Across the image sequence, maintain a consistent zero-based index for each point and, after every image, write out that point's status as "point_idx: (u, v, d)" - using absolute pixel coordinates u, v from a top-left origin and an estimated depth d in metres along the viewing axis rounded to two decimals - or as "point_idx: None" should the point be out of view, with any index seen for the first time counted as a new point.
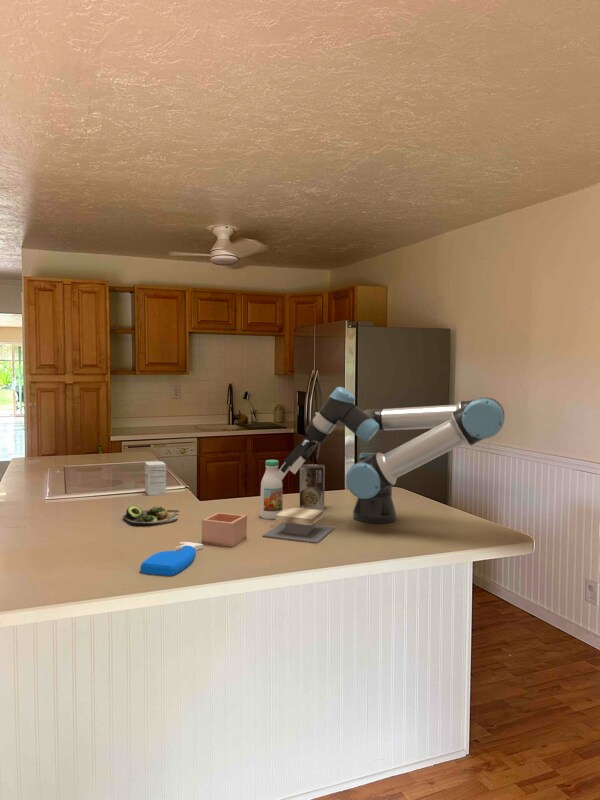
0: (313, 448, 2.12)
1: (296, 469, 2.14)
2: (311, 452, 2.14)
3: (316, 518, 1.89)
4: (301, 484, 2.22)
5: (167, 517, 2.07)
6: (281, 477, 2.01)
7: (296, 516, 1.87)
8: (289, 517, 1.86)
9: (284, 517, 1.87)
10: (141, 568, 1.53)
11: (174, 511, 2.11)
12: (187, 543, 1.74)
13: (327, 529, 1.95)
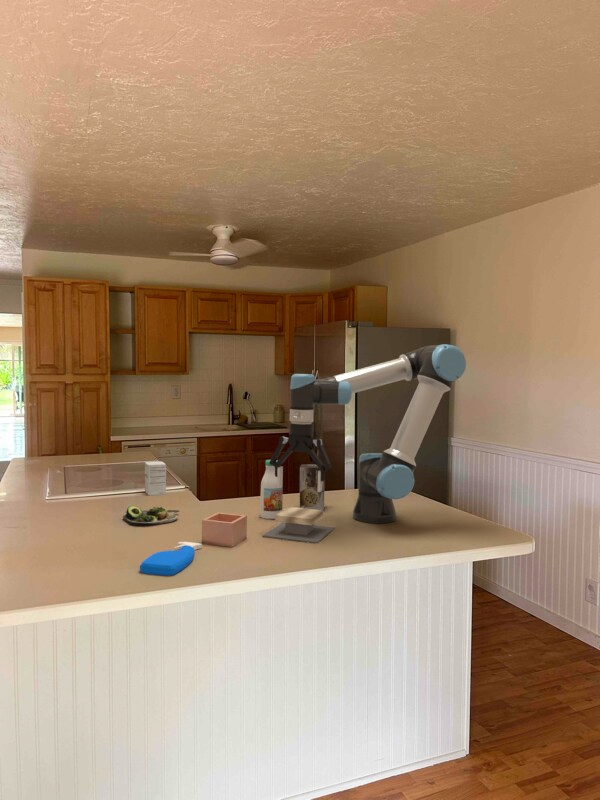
0: (281, 450, 1.94)
1: (281, 481, 1.94)
2: None
3: (316, 518, 1.89)
4: (301, 484, 2.22)
5: (167, 517, 2.07)
6: None
7: (296, 516, 1.87)
8: (289, 517, 1.86)
9: (284, 517, 1.87)
10: (140, 568, 1.53)
11: (174, 511, 2.11)
12: (186, 543, 1.74)
13: (327, 529, 1.95)
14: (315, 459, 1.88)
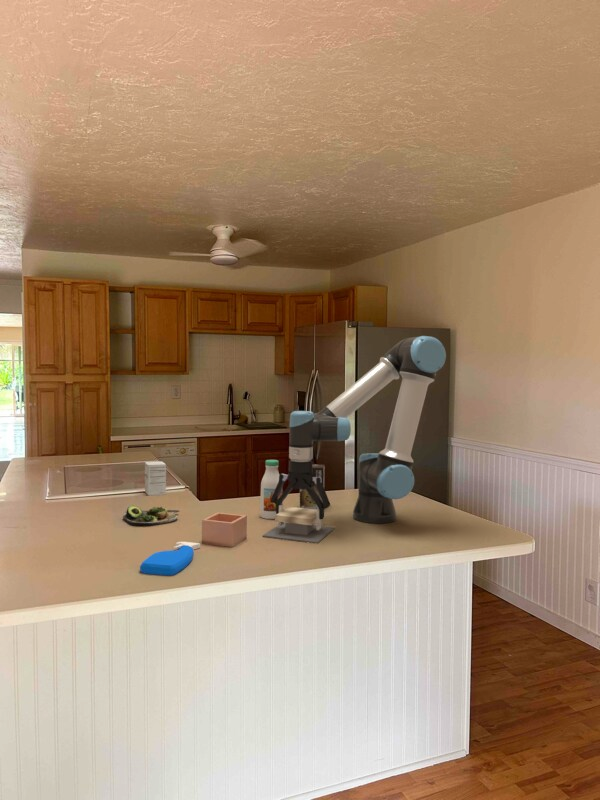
0: None
1: None
2: None
3: None
4: None
5: (167, 517, 2.07)
6: (320, 524, 1.90)
7: (296, 516, 1.87)
8: (289, 517, 1.86)
9: (284, 517, 1.87)
10: (141, 568, 1.53)
11: (174, 511, 2.11)
12: (184, 543, 1.74)
13: (327, 529, 1.95)
14: (314, 497, 1.88)
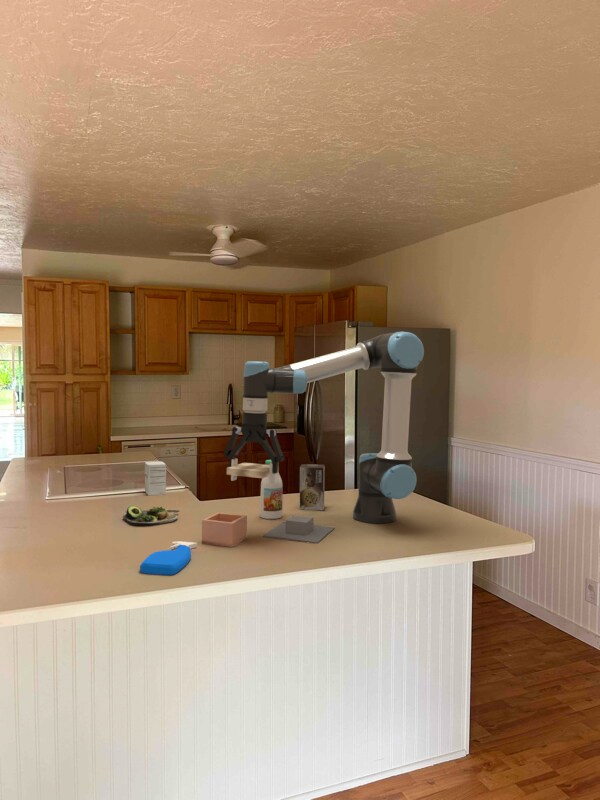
0: (235, 441, 1.87)
1: None
2: None
3: None
4: (301, 484, 2.22)
5: (167, 517, 2.07)
6: (274, 479, 1.83)
7: (248, 469, 1.80)
8: (240, 470, 1.79)
9: (235, 470, 1.80)
10: (141, 568, 1.53)
11: (174, 511, 2.11)
12: (180, 542, 1.74)
13: (327, 529, 1.95)
14: (267, 450, 1.81)
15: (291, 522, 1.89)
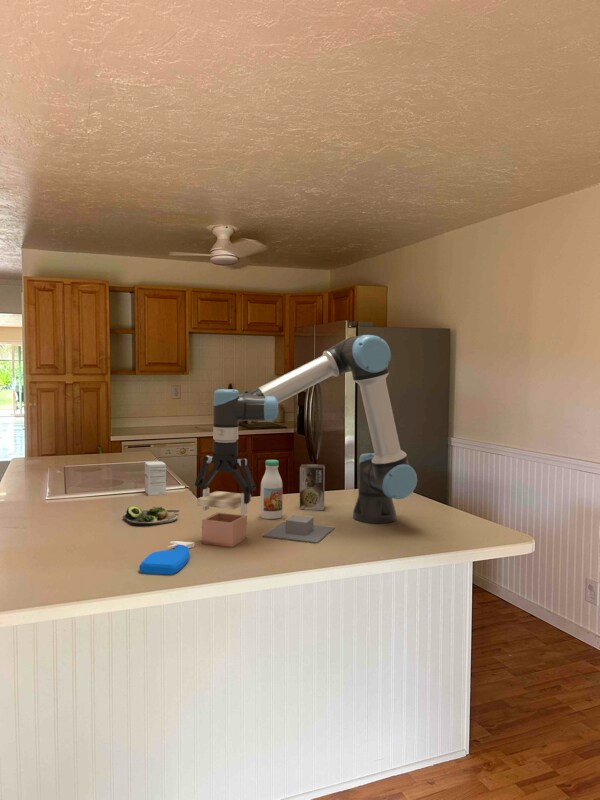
0: None
1: None
2: None
3: None
4: (301, 484, 2.22)
5: (167, 517, 2.07)
6: (246, 509, 1.80)
7: (219, 500, 1.76)
8: (211, 501, 1.76)
9: (206, 501, 1.77)
10: (140, 568, 1.53)
11: (174, 511, 2.11)
12: (178, 542, 1.75)
13: (327, 529, 1.95)
14: (238, 480, 1.78)
15: (291, 522, 1.89)
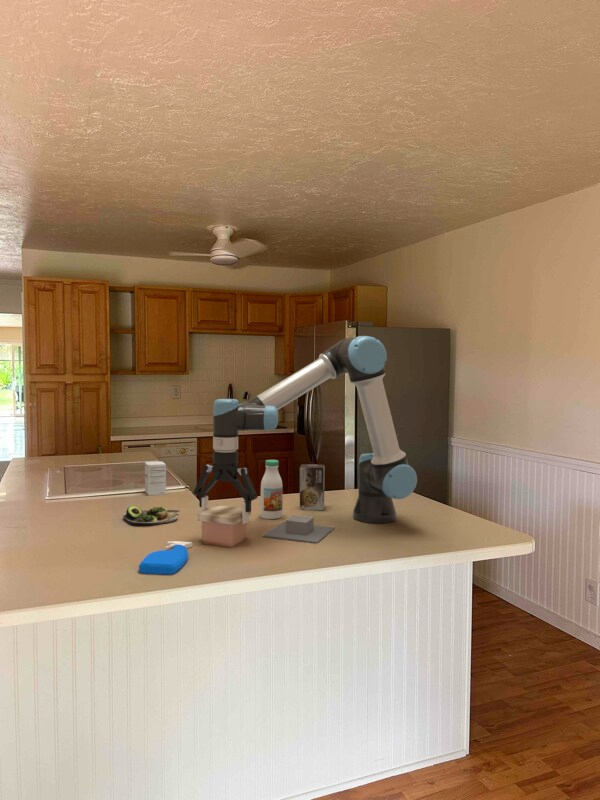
0: (206, 479, 1.84)
1: None
2: None
3: (241, 517, 1.79)
4: (301, 484, 2.22)
5: (167, 517, 2.07)
6: (247, 518, 1.80)
7: (219, 515, 1.77)
8: (211, 516, 1.76)
9: (206, 516, 1.77)
10: (140, 568, 1.53)
11: (174, 511, 2.11)
12: (176, 542, 1.75)
13: (327, 529, 1.95)
14: (239, 489, 1.78)
15: (291, 522, 1.89)
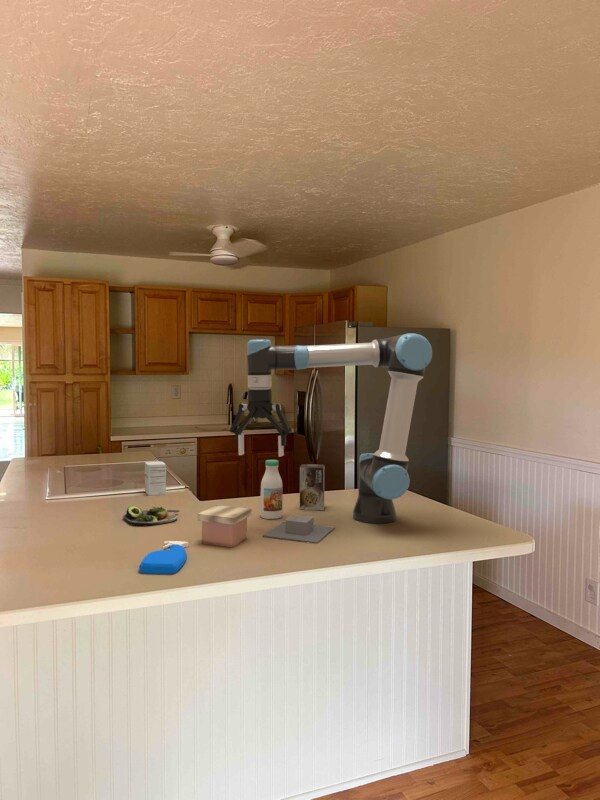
0: (241, 417, 1.94)
1: (243, 448, 1.94)
2: None
3: (241, 517, 1.79)
4: (301, 484, 2.22)
5: (167, 517, 2.07)
6: (283, 451, 1.90)
7: (219, 515, 1.77)
8: (211, 516, 1.76)
9: (206, 516, 1.77)
10: (141, 568, 1.53)
11: (174, 511, 2.11)
12: (172, 542, 1.75)
13: (327, 529, 1.95)
14: (275, 424, 1.88)
15: (291, 522, 1.89)
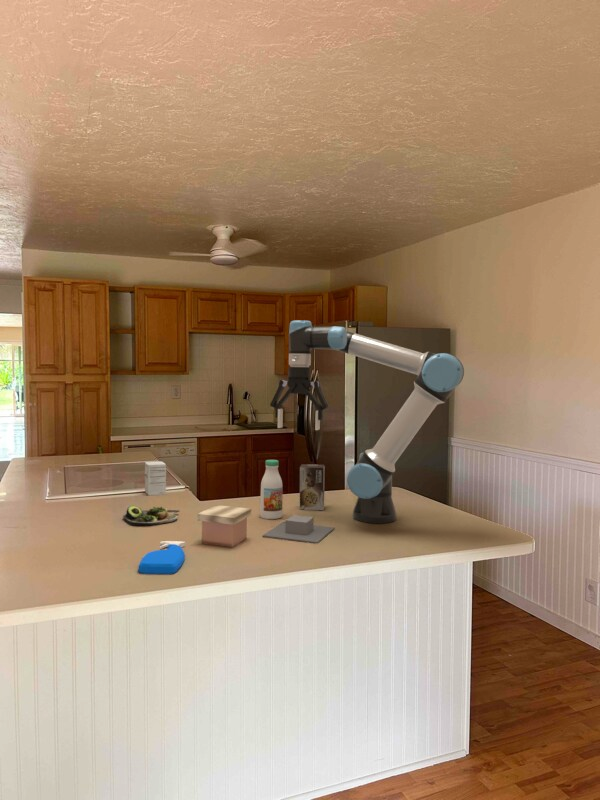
0: (281, 393, 2.08)
1: (282, 422, 2.08)
2: None
3: (241, 517, 1.79)
4: (301, 484, 2.22)
5: (167, 517, 2.07)
6: (319, 426, 2.04)
7: (219, 515, 1.77)
8: (211, 516, 1.76)
9: (206, 516, 1.77)
10: (140, 569, 1.53)
11: (174, 511, 2.11)
12: (169, 542, 1.75)
13: (327, 529, 1.95)
14: (313, 399, 2.02)
15: (291, 522, 1.89)
